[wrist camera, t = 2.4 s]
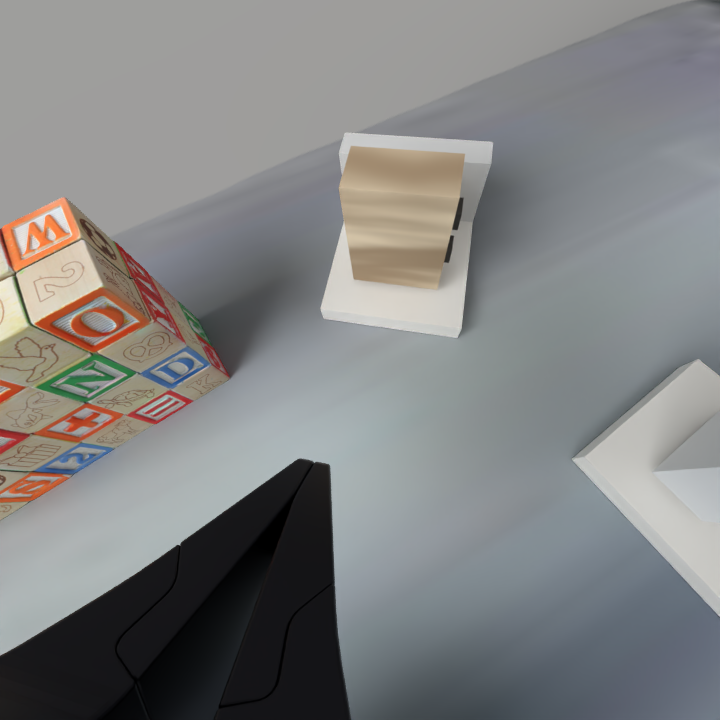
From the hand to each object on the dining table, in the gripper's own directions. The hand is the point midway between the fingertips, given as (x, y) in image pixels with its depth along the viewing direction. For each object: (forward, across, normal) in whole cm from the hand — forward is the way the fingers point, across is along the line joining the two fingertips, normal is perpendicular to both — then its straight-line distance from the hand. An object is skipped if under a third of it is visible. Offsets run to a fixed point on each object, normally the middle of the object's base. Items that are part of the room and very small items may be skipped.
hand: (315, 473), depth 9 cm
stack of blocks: (+10, +20, +10) cm, 25 cm away
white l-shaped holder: (+22, 0, -2) cm, 22 cm away
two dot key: (+19, 0, -3) cm, 19 cm away
